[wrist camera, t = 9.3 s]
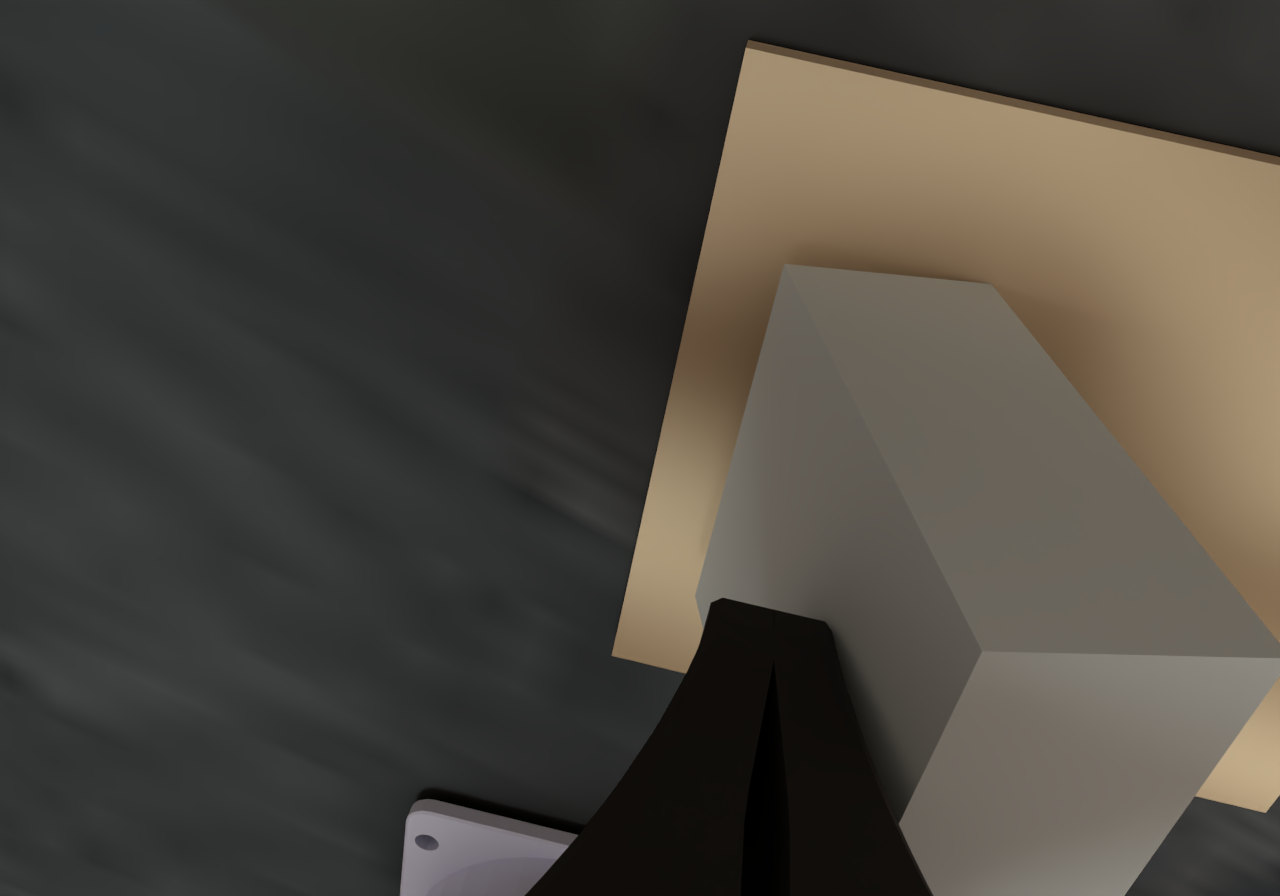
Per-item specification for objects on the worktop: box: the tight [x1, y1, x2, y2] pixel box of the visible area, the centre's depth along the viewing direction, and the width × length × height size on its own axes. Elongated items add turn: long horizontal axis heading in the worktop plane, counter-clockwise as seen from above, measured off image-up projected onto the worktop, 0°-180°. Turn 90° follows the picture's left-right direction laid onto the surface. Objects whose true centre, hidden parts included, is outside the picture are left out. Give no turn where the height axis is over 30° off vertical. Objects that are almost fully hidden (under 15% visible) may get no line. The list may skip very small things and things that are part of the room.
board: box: [612, 40, 1280, 813], centre depth 18 cm, size 11×12×1 cm
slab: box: [695, 264, 1280, 896], centre depth 14 cm, size 6×3×7 cm, turn 170°
